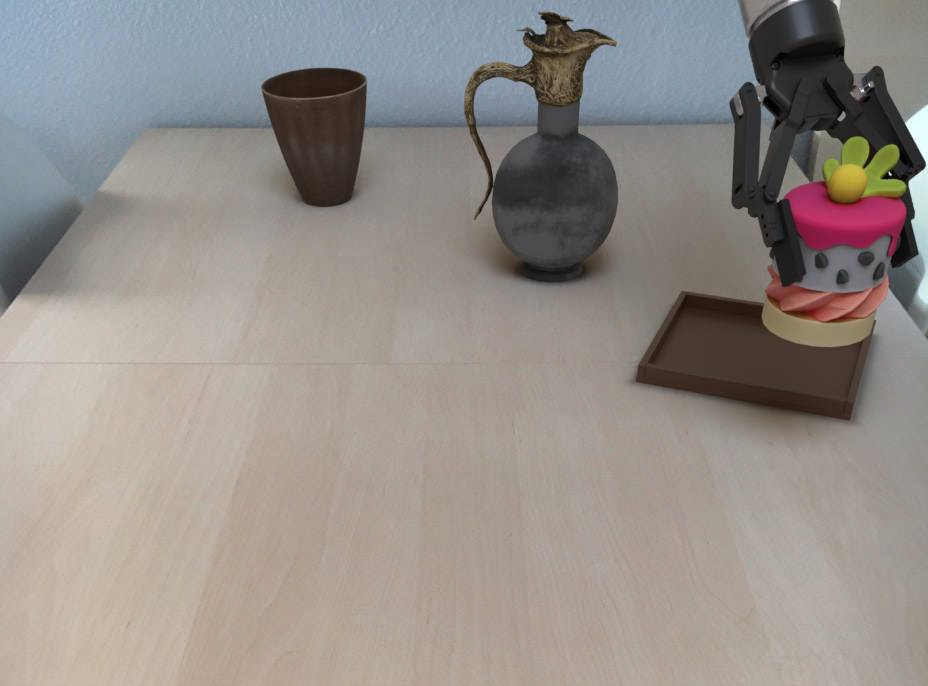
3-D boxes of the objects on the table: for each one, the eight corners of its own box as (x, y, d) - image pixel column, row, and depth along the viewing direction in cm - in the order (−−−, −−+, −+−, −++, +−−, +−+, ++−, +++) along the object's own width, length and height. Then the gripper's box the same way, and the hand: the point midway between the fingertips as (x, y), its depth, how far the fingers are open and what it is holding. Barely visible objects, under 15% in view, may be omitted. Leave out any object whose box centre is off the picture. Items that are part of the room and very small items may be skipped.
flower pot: (301, 224, 148) (286, 104, 137) (261, 193, 157) (244, 78, 146) (392, 202, 153) (385, 85, 142) (348, 173, 163) (338, 61, 152)
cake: (876, 355, 90) (927, 177, 79) (753, 341, 92) (786, 167, 82) (875, 302, 97) (922, 134, 87) (761, 291, 99) (793, 125, 89)
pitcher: (610, 292, 129) (633, 21, 109) (460, 286, 132) (455, 20, 111) (613, 257, 137) (635, -2, 116) (472, 251, 139) (469, -3, 119)
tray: (871, 338, 119) (876, 319, 117) (849, 422, 106) (854, 402, 104) (679, 308, 126) (681, 290, 124) (635, 383, 113) (638, 364, 111)
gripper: (879, 35, 94) (935, 268, 94) (653, 63, 90) (711, 308, 90) (932, -20, 87) (993, 232, 87) (689, 6, 83) (753, 273, 82)
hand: (850, 270), depth 88 cm, fingers closed on cake, 10 cm apart
